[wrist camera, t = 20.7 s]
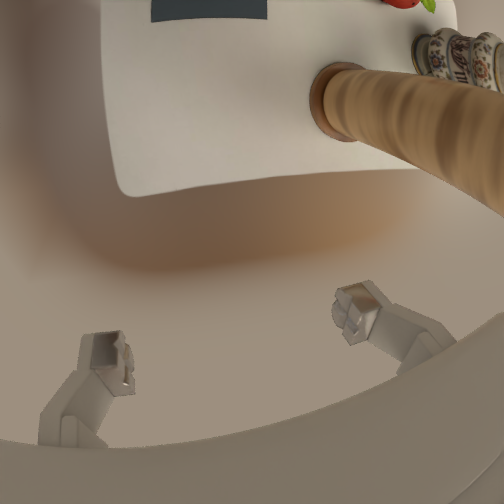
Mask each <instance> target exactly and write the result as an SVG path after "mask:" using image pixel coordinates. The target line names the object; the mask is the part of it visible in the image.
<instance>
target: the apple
mask: <svg viewBox="0 0 504 504" xmlns="http://www.w3.org/2000/svg"><path fill="white" fill-rule="evenodd" d="M382 1H384V2H386V3H388V4H390V5H392V6H394V7H396V8H400V9H407V8H412V7H414V6H416V5H417V4H418V3H419V2H420V1H421V3H423V5H424V6H425V8H426V9H427V10H428V11H429V12H432V13H433V14H434V11H435V0H382Z"/></svg>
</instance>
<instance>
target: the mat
mask: <svg viewBox="0 0 504 504" xmlns="http://www.w3.org/2000/svg"><path fill="white" fill-rule="evenodd" d="M193 18H253V19H267V0H152V10H151V22H159V21H168V20H179V19H193Z"/></svg>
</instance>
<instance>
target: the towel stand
mask: <svg viewBox="0 0 504 504" xmlns="http://www.w3.org/2000/svg"><path fill="white" fill-rule="evenodd" d="M310 109H311V113H312V116H313V118H314V120H315V122H316V124H317V125H318V127H319V128H320V129H321V130H322V131H323V132H324V133H325V134H326V135H328V136H330V137H331V138H334V139H336V140H339V141H342V142H355V141H360V142H362V143H365V144H367V145H370V146H372V147H374V148H377V149H379V150H381V151H384V152H386V153H388V154H391V155H393V156H395V157H397V158H399V159H401V160H404V161H406V162H408V163H410V164H412V165H414V166H416V167H418V168H420V169H422V170H424V171H426V172H428V173H430V174H432V175H434V176H436V177H438V178H440V179H441V180H443V181H445V182H447V183H449V184H450V185H452V186H454V187H456V188H457V189H459V190H461V191H463V192H464V193H466V194H468V195H469V196H471V197H473V198H474V199H476V200H478V201H479V202H481V203H482V204H484V205H485V206H487V207H489V208H490V209H492V210H493V211H495V212H496V213H498V214H499V215H501V216H502V217H503V218H504V94H503V93H500V92H497V91H493V90H490V89H486V88H483V87H479V86H475V85H471V84H466V83H462V82H457V81H453V80H448V79H442V78H437V77H431V76H424V75H417V74H409V73H401V72H390V71H378V70H366V69H365V68H363V67H362V66H360V65H357V64H354V63H335V64H332V65H330V66H328V67H326V68H325V69H323V70H322V71H321V72H320V73H319V74H318V76H317V77H316V78H315V80H314V82H313V85H312V87H311V92H310Z"/></svg>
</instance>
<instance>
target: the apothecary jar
mask: <svg viewBox="0 0 504 504" xmlns="http://www.w3.org/2000/svg"><path fill="white" fill-rule="evenodd" d="M412 58H413V63H414V66H415V68H416V70H417V72H418V74H419V75H424V76H431V77H437V78H442V79H448V80H453V81H457V82H462V83H466V84H471V85H475V86H479V87H483V88H486V89H490V90H493V91H497V92H500V93H503V94H504V43H503V41H502V40H501V39H500V38H498V37H497V36H496V35H494V34H492V33H489V32H484V33H481V34H480V35H479V36H478V37H477V38H472V37H466V36H462V35H461V34H460V33H459V32H457V31H456V30H454V29H451V28H441V29H439V30H437V31H436V32H435V33H434V34H433V36H431V35H429V34H420V35H418V36H417V37H416V38H415V40H414V42H413V46H412Z"/></svg>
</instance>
